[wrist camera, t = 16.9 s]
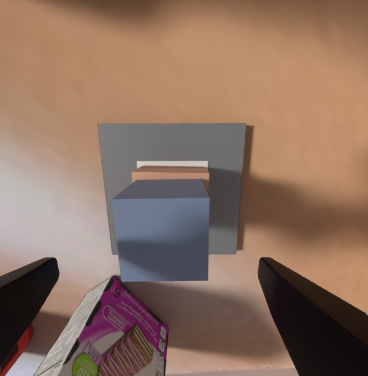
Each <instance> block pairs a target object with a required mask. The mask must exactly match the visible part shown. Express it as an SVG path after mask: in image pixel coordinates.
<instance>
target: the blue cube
mask: <svg viewBox="0 0 368 376" xmlns="http://www.w3.org/2000/svg"><path fill="white" fill-rule="evenodd" d="M112 207H113V216H114V224H115V232H116V240H117V248H118V257H119V265H120V273H121V281H122V282H138V281H208V252H209V196H208V193H207V191H206V189H205V187H204V185H203V183H202V180H201V179H149V180H136V181H134V182H133V183H132V184H130V185H129V186H128V187H127V188H125V189H124V190H123V191H122V192H120V193H119V194H118V195H116V196H115V197H114V198H113V199H112Z"/></svg>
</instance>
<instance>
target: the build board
mask: <svg viewBox="0 0 368 376" xmlns="http://www.w3.org/2000/svg"><path fill="white" fill-rule="evenodd" d="M97 126H98V135H99V143H100V152H101V161H102V170H103V179H104V187H105V196H106V205H107V214H108V222H109V231H110V240H111V249H112V255H118V248H117V240H116V232H115V224H114V216H113V207H112V199H113V198H114V197H115V196H116V195H118V194H119V193H120V192H122V191H123V190H124V189H125V188H127V187H128V186H129V185H130V184H132V171H134V170H136V169H138V168H139V167H141V166H143V165H149V166H199V167H205V169H206V170H207V171H208V172H209V188H208V196H209V252H208V254H236V247H237V234H238V221H239V209H240V196H241V183H242V170H243V158H244V145H245V132H246V123H217V124H97Z"/></svg>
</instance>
